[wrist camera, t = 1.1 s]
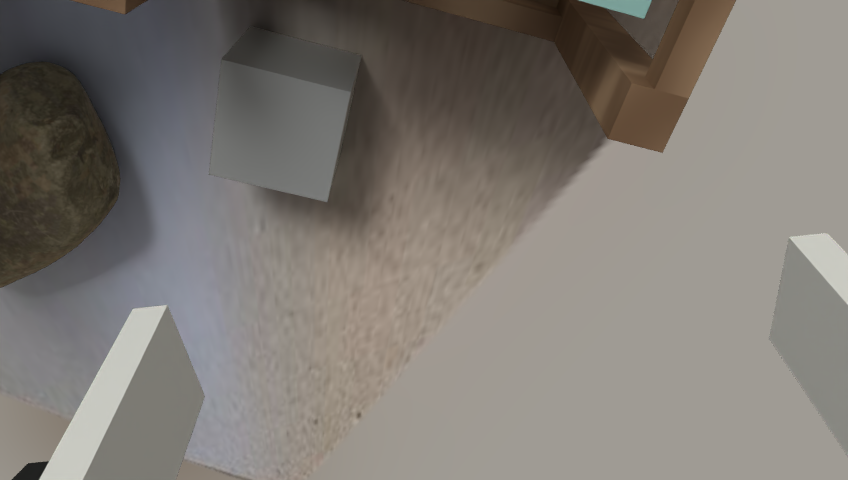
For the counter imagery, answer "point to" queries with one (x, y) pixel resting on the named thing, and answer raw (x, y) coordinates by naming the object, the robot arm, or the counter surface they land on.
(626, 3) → the trapdoor
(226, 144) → the gray cube
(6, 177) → the stone
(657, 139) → the frame
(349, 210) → the counter surface
